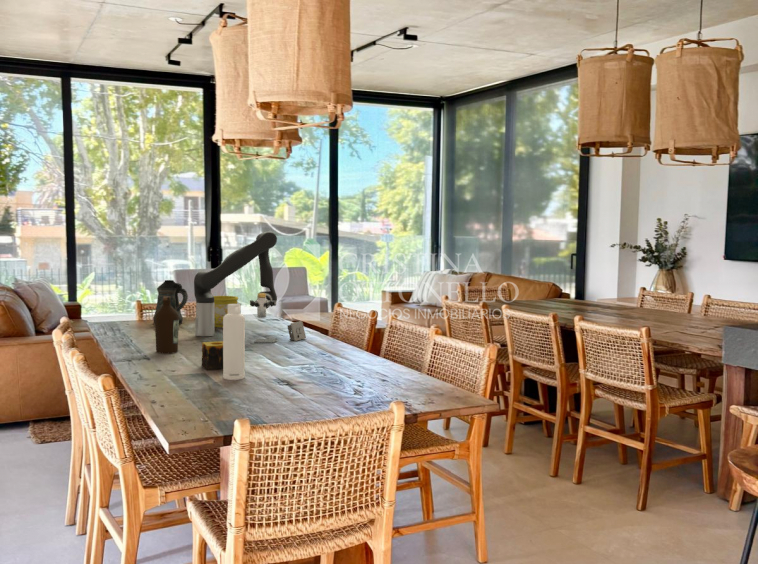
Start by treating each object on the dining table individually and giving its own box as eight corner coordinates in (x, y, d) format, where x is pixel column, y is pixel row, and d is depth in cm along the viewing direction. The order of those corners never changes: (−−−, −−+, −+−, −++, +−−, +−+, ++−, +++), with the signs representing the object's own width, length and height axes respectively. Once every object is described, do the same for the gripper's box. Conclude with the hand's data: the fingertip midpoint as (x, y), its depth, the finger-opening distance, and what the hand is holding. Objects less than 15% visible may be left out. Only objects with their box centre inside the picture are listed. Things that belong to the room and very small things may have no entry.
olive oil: (151, 353, 316) (151, 298, 314) (158, 349, 326) (157, 295, 324) (175, 354, 316) (175, 298, 314) (181, 349, 327) (181, 295, 324)
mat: (254, 343, 348) (254, 341, 348) (256, 339, 358) (256, 338, 358) (274, 343, 348) (274, 342, 348) (276, 339, 358) (276, 338, 358)
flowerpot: (234, 328, 394) (234, 299, 393) (202, 328, 394) (202, 298, 393) (241, 324, 412) (241, 295, 411) (210, 323, 412) (210, 295, 411)
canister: (256, 317, 355) (256, 293, 354) (257, 316, 360) (257, 293, 359) (265, 317, 356) (265, 294, 354) (266, 316, 360) (266, 293, 359)
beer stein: (154, 321, 416) (153, 279, 414) (188, 321, 420) (188, 279, 418) (152, 325, 400) (151, 281, 398) (187, 325, 404) (187, 281, 402)
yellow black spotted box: (206, 370, 282) (206, 346, 281) (200, 366, 291) (200, 342, 290) (232, 368, 287) (232, 344, 286) (225, 364, 295) (225, 340, 295)
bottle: (234, 380, 265) (234, 306, 262) (218, 378, 269) (218, 304, 267) (249, 377, 272) (249, 304, 269) (233, 374, 276) (233, 302, 274)
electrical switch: (295, 341, 355) (294, 323, 354) (287, 341, 357) (286, 323, 357) (306, 339, 363) (305, 321, 362) (298, 339, 365) (296, 321, 365)
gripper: (250, 293, 370) (246, 297, 353) (278, 294, 371) (275, 297, 354) (250, 308, 371) (246, 312, 354) (278, 308, 372) (275, 312, 355)
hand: (261, 305), depth 354 cm, fingers closed on canister, 4 cm apart
